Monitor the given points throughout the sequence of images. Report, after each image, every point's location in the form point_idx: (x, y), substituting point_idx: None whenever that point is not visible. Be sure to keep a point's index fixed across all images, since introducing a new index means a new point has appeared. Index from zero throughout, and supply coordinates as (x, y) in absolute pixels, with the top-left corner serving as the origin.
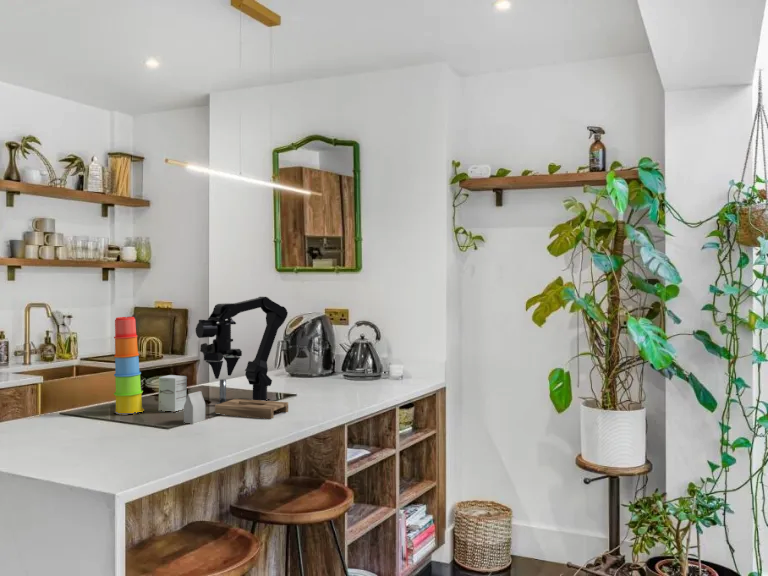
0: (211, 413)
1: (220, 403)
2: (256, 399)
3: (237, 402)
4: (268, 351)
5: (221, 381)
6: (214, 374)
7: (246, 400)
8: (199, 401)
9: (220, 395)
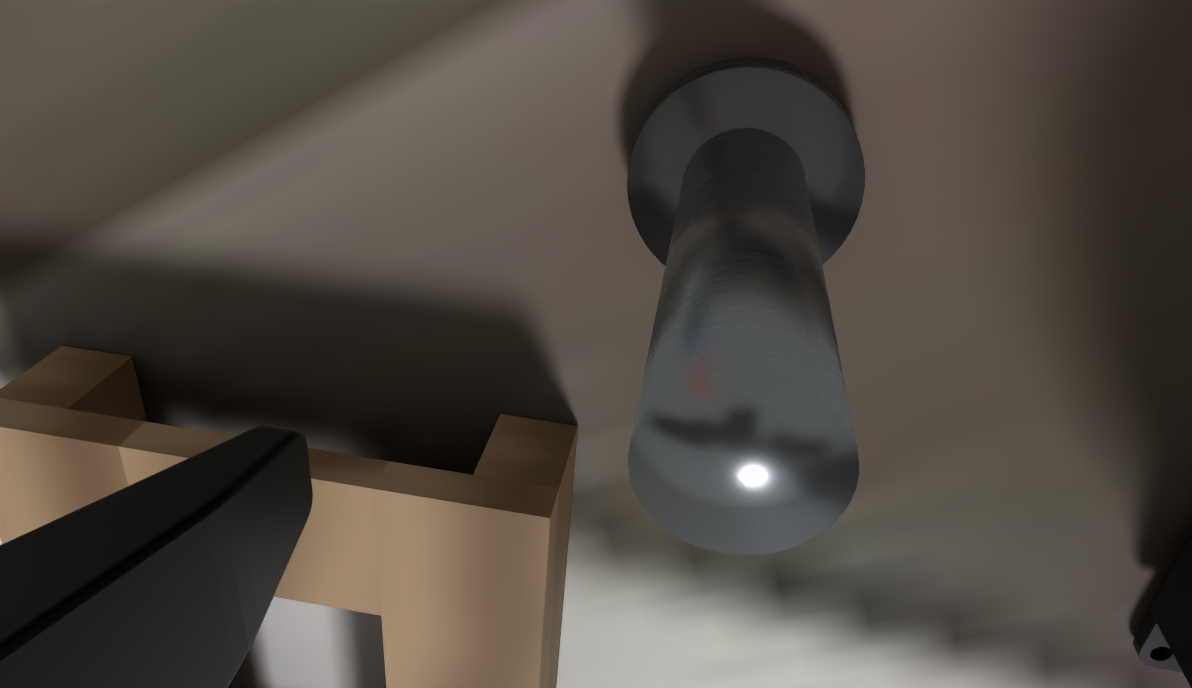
0: (111, 262)
1: (94, 446)
2: (1167, 593)
3: (334, 598)
4: None
5: (633, 429)
6: (108, 515)
7: (468, 680)
8: None
9: (675, 222)
